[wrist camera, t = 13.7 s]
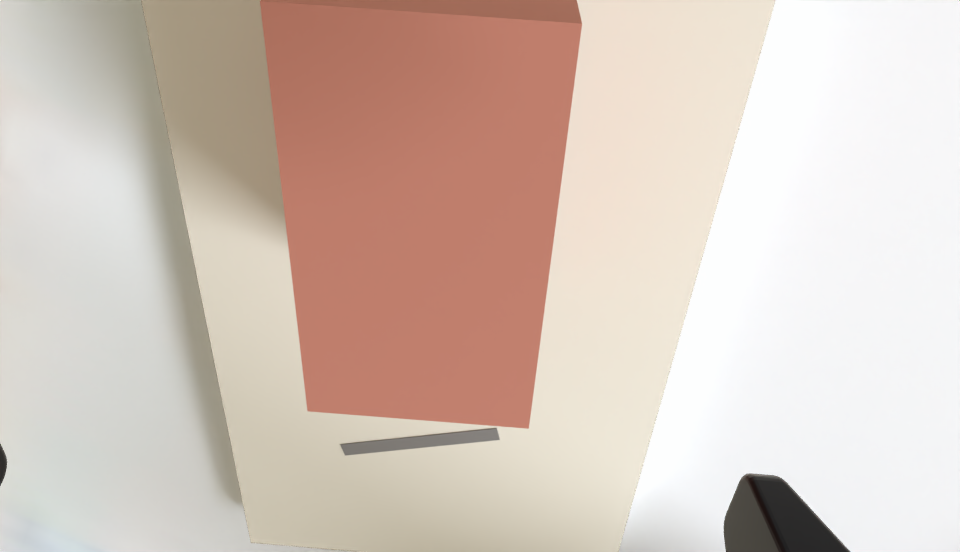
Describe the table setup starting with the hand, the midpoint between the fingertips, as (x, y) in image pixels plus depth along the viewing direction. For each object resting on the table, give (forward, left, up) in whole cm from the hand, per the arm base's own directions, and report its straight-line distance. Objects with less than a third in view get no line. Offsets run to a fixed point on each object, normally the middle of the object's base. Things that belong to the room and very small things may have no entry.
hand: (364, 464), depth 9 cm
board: (-6, 0, -11) cm, 12 cm away
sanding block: (0, 0, -10) cm, 10 cm away
